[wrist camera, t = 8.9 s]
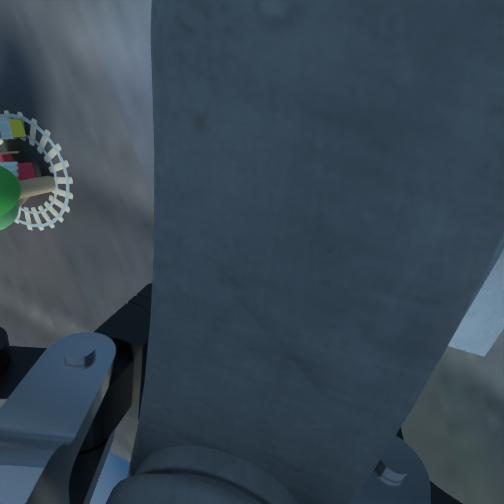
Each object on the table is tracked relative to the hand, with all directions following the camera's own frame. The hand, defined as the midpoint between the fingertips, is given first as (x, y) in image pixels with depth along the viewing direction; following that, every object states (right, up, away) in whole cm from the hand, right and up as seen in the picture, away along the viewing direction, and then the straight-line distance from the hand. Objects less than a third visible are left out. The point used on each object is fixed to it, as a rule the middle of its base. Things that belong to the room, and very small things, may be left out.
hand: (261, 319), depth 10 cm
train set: (-28, +12, +29) cm, 42 cm away
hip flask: (+3, +5, +11) cm, 12 cm away
